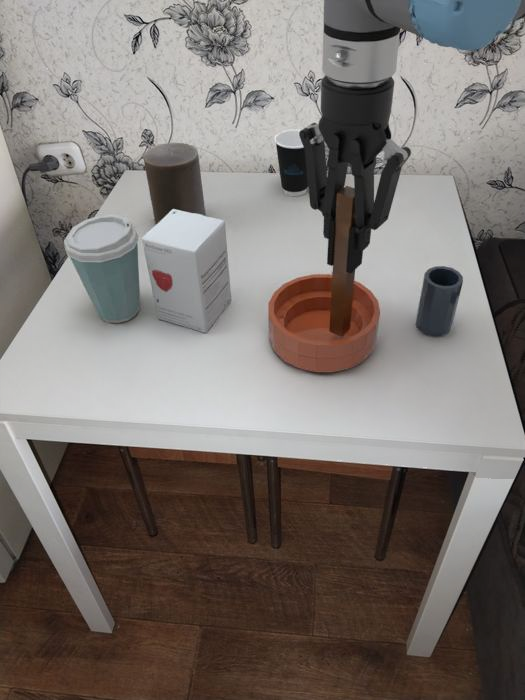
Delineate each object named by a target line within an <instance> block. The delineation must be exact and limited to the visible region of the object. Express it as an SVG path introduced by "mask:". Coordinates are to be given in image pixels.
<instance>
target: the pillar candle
mask: <svg viewBox="0 0 525 700" xmlns="http://www.w3.org/2000/svg"><path fill="white" fill-rule="evenodd" d="M143 162H144V169H145V175H146V180H147V185H148V191H149V198H150V202H151V207H152V213H153V219H154V224H155V225H157V224H158V223H159V222H160V221H161V220H162V219H163V218H164V217H165V216H166V215H167V214H168V213H169V212H170V211H171V210H172V209H176V210H180V211H185V212H189V213H196V214H201V215H204V216H207V215H206V207H205V198H204V189H203V183H202V174H201V164H200V157H199V151H198V148H197V147H196V146H195V145H190V144H189V143H184V142H167V143H159V144H156V145H154V146H153V147H150V148H149V149H147V150H146V151H145V152H144V153H143Z"/></svg>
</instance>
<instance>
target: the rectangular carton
mask: <svg viewBox="0 0 525 700" xmlns="http://www.w3.org/2000/svg"><path fill="white" fill-rule="evenodd" d="M227 242H228V241H227V228H226V220H224V219H219V218H217V217H216V218H215V217H210V216H207V215H206V216H204V215H201V214H196V213H189V212H185V211H180V210H176V209H172V210H171V211H170V212H169V213H168V214H167V215H166V216H165V217H164V218H163V219H162V220H161V221H160V222H159V223H158V224H157V225H156V224H155V225H154V226H153V227H152V228H150V229H149V230H148V231H147V233H145V234H144V235H143V237H141V244H142V247H143V252H144V257H145V262H146V266H147V272H148V276H149V283H150V286H151V291H152V295H153V296H152V297H153V302H154V307H155V312H156V315H157V319H159V320H161V321H164V322H168V323H171V324H175V325H178V326H182V327H185V328H188V329H191V330H195V331H198V332H201V333H205V334H206V333H208V331H209V330H210V329H211V328H212V327H213V325H214V324H215V322H216V321H217V320H218V319H219V317H220V316H221V315H222V313H223V312H224V311H225V309H226V308H227V307H228V306H229V304H230V303H231V302H232V292H231V291H232V290H231V279H230V267H229V255H228V243H227Z"/></svg>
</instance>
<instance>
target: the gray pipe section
mask: <svg viewBox="0 0 525 700" xmlns="http://www.w3.org/2000/svg"><path fill="white" fill-rule="evenodd" d="M423 276H424V277H423V280H422V285H421V291H420V296H419V301H418V306H417V312H416V319H415V327H416V330H418V331H419V332H420V333H421V334H423V335H424V336H428V337H433V338H441V337H444V336H446V335H448V334H449V333H450V332H451V330H452V327H453V324H454V320H455V316H456V311H457V308H458V303H459V300H460V296H461V291H462V288H463V285H464V277H463V275H462V274H461V272H460V271H458V270H456V269H455V268H453V267H450V266H446V265H444V266H443V265H440V266H432V267H429V268H428V269H427V270H426V271H425V272H424V275H423Z"/></svg>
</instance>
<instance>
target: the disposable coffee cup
mask: <svg viewBox="0 0 525 700" xmlns="http://www.w3.org/2000/svg"><path fill="white" fill-rule="evenodd" d="M138 242H139V234H138V231H137V229H136V228H135V225H134V224H133V223H132V222H131V220H130V218H129V217H128V216H124V215H121V214H118V213H113V214H112V213H111V214H110V213H109V214H100V215H97V216H93V217H90V218H87V219H84V220H82V221H81V222H80V223H78V224H76V225H74V226H73V227H71V229H70V231H69V232H68V234H67V235H66V237H65V238H64V240H63V243H64V246H63V248H64V250H65V252H66V255H67V257H69V258H70V261H71V262H72V264H73V266H74V269H75V271H76V273H77V274H78V278H79V279H80V281H81V283H82V285H83V287H84V289H85V291H86V293H87V295H88V297H89V300H90V301H91V303H92V305H93V307H94V309H95V311H96V313H97V315H98V317H100V319H101V320H103V321H105V322H106V323H108V324H121V323H124V322H127V321H130V320H131V319H133V318H134V317H135V316H137V314H138V312H139V309H140V306H141V297H140V295H141V293H140V291H141V290H140V271H139V269H140V268H139V248H138Z"/></svg>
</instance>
